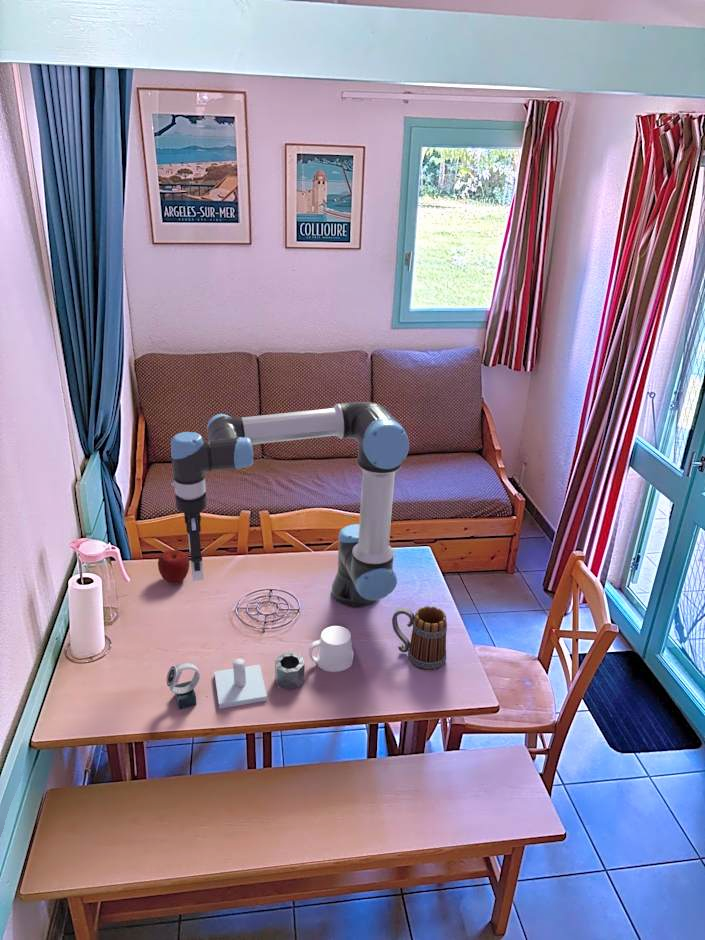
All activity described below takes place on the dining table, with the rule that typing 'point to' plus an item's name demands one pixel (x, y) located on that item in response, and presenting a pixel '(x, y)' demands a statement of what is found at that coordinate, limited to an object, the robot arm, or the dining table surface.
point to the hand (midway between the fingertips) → (196, 564)
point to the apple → (173, 566)
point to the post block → (240, 685)
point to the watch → (183, 685)
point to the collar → (289, 671)
